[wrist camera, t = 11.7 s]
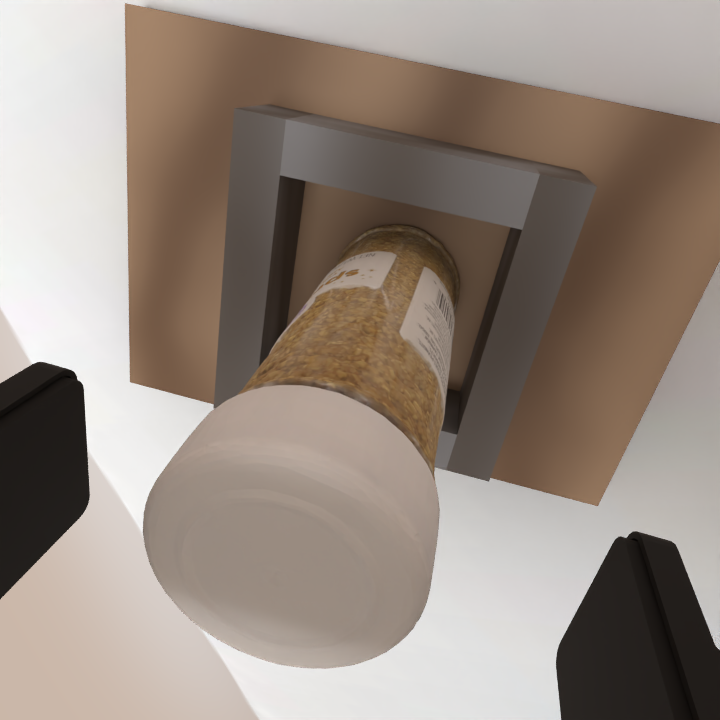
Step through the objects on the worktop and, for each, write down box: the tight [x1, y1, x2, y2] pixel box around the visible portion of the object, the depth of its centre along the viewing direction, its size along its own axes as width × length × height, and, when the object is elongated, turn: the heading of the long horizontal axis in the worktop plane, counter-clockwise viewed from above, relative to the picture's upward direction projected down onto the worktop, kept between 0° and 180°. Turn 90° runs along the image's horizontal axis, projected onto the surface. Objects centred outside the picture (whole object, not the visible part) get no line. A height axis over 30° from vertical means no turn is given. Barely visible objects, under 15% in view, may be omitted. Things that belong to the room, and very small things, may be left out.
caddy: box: [125, 3, 720, 506], centre depth 19 cm, size 20×14×4 cm
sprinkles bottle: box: [143, 225, 460, 669], centre depth 14 cm, size 5×5×14 cm
